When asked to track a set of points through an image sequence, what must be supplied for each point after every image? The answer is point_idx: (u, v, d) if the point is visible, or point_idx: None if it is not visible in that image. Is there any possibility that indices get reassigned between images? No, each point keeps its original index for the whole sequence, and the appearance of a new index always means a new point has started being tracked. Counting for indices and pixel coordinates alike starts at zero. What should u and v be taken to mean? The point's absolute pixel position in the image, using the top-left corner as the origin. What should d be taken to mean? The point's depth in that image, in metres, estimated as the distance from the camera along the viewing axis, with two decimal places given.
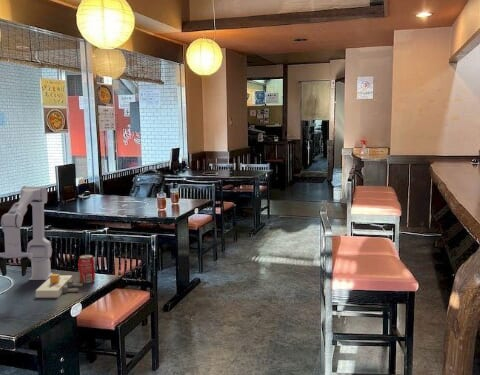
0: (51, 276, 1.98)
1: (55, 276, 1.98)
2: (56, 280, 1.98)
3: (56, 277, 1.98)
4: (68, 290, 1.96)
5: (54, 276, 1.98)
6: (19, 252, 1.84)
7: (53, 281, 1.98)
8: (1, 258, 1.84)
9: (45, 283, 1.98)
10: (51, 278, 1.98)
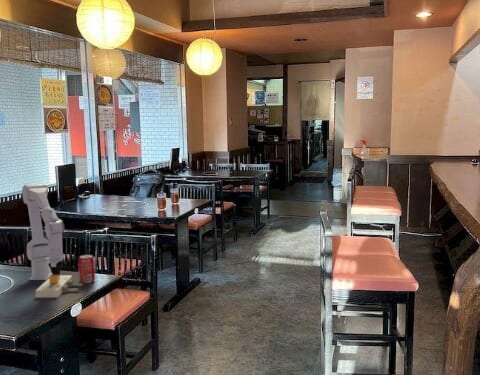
0: (50, 277, 1.97)
1: (54, 277, 1.97)
2: (55, 281, 1.97)
3: (55, 278, 1.97)
4: (68, 290, 1.96)
5: (53, 277, 1.97)
6: (53, 258, 1.97)
7: (52, 282, 1.97)
8: None
9: (45, 283, 1.98)
10: (50, 279, 1.97)
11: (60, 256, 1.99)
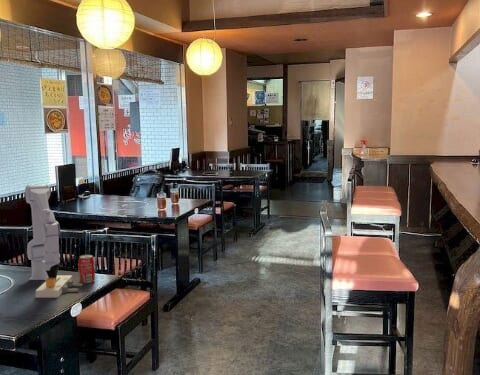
0: (47, 280, 1.93)
1: (51, 280, 1.93)
2: (52, 284, 1.93)
3: (52, 281, 1.93)
4: (68, 290, 1.96)
5: (50, 280, 1.93)
6: (48, 261, 1.93)
7: (49, 285, 1.93)
8: None
9: (45, 283, 1.98)
10: (47, 282, 1.93)
11: (56, 259, 1.94)
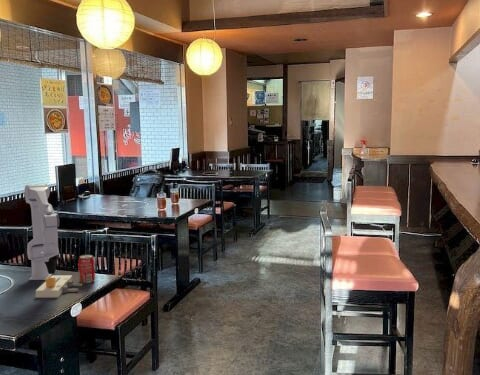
0: (47, 280, 1.93)
1: (51, 280, 1.93)
2: (52, 284, 1.93)
3: (52, 281, 1.93)
4: (68, 290, 1.96)
5: (50, 280, 1.93)
6: (47, 253, 1.91)
7: (49, 285, 1.93)
8: None
9: (45, 283, 1.98)
10: (47, 282, 1.93)
11: (54, 251, 1.93)
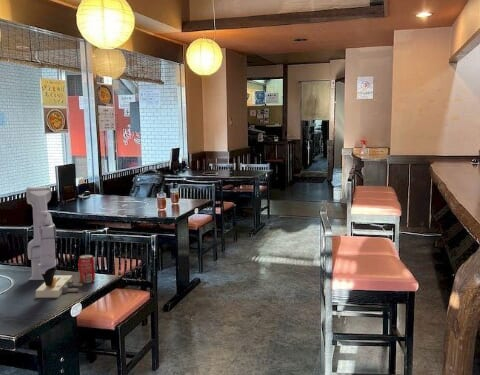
0: None
1: None
2: (52, 284, 1.93)
3: None
4: (68, 290, 1.96)
5: None
6: (44, 264, 1.88)
7: None
8: None
9: None
10: None
11: (52, 263, 1.89)
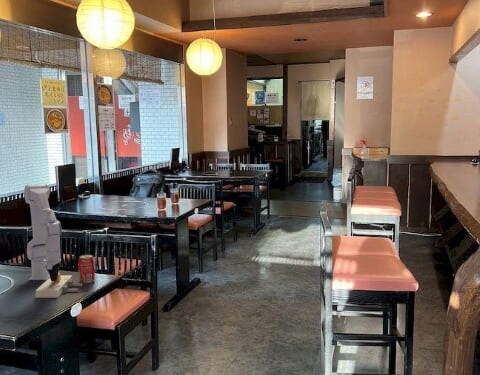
0: None
1: None
2: (57, 279, 2.00)
3: None
4: (68, 290, 1.96)
5: None
6: (50, 260, 1.94)
7: None
8: None
9: (45, 283, 1.98)
10: None
11: (57, 258, 1.96)
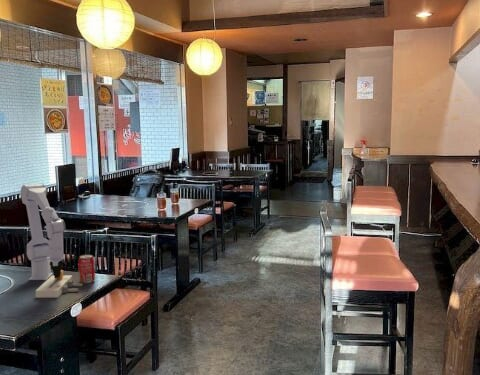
0: None
1: None
2: (60, 276, 2.04)
3: None
4: (68, 290, 1.96)
5: None
6: (54, 257, 1.99)
7: None
8: None
9: (45, 283, 1.98)
10: None
11: (61, 255, 2.00)
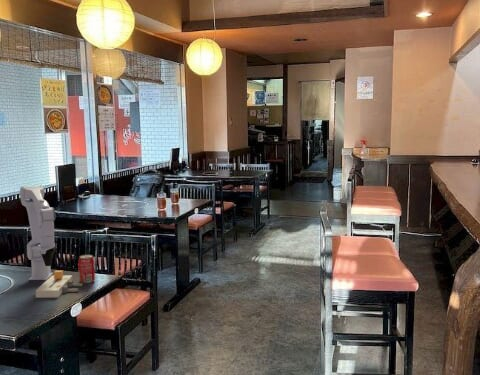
0: (55, 272, 2.03)
1: (59, 272, 2.03)
2: (60, 276, 2.03)
3: (60, 273, 2.03)
4: (68, 290, 1.96)
5: (58, 272, 2.03)
6: (44, 245, 1.98)
7: (57, 277, 2.03)
8: None
9: (45, 283, 1.98)
10: (55, 274, 2.03)
11: (51, 243, 2.00)
